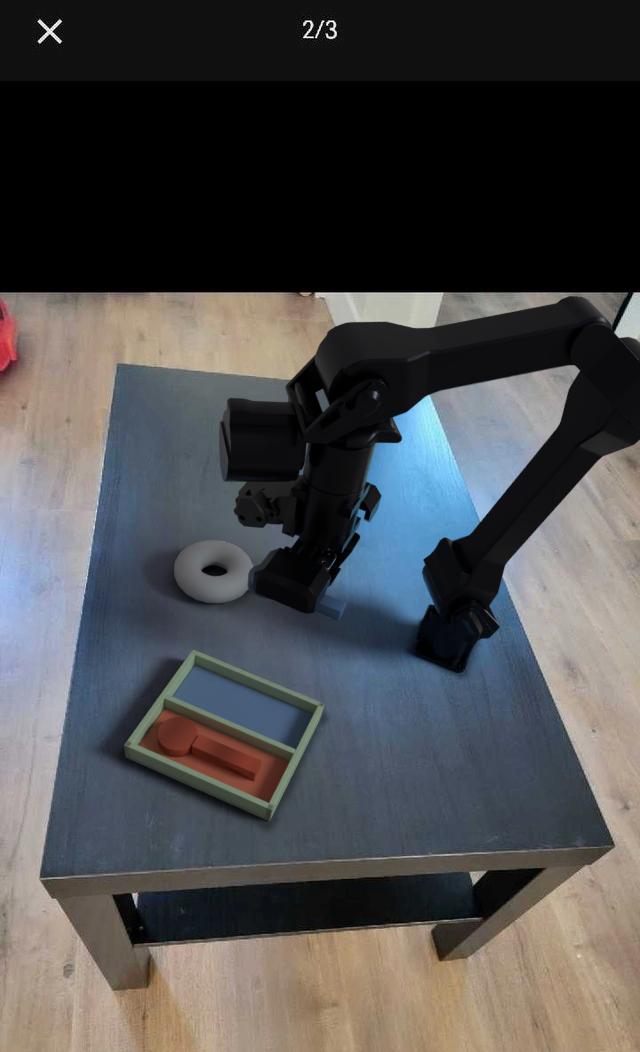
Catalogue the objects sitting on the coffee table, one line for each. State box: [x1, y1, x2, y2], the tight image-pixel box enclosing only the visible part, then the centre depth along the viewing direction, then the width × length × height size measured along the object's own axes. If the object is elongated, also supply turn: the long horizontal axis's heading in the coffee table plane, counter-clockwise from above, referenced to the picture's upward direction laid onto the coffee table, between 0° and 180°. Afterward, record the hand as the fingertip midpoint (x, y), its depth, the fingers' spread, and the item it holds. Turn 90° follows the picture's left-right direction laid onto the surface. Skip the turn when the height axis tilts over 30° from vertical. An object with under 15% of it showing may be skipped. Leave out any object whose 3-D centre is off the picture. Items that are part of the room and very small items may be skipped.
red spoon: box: [157, 717, 262, 781], centre depth 69 cm, size 11×4×2 cm, turn 68°
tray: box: [123, 649, 325, 822], centre depth 72 cm, size 16×14×2 cm
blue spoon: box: [247, 563, 347, 622], centre depth 74 cm, size 11×4×2 cm, turn 67°
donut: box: [173, 539, 254, 604], centre depth 86 cm, size 10×4×10 cm
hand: (308, 596), depth 73 cm, fingers closed on blue spoon, 2 cm apart
